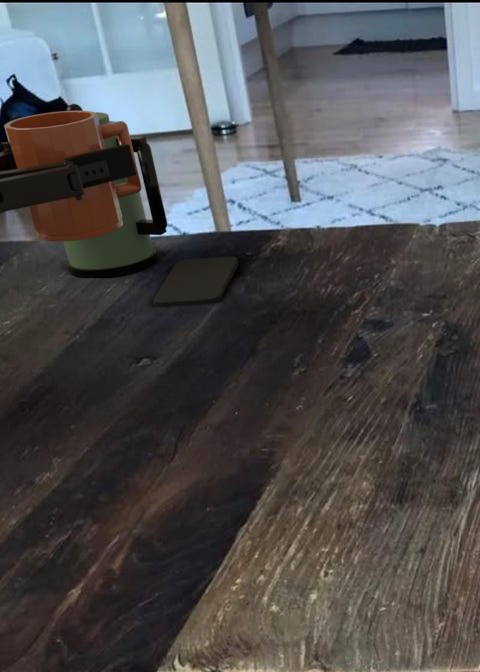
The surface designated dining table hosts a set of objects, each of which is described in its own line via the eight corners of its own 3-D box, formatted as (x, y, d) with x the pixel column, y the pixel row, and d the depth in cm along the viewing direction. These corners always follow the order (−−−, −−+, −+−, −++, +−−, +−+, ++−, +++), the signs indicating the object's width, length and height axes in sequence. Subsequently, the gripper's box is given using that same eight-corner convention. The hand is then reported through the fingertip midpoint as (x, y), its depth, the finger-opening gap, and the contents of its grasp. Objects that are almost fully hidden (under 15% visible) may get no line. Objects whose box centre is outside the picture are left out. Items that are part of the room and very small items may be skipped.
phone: (149, 303, 120) (176, 260, 132) (151, 311, 120) (178, 267, 132) (218, 298, 119) (239, 255, 131) (220, 306, 120) (240, 262, 132)
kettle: (20, 285, 131) (-30, 120, 120) (87, 250, 141) (45, 95, 131) (138, 289, 127) (96, 119, 116) (197, 253, 137) (164, 93, 126)
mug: (65, 246, 106) (33, 132, 100) (21, 234, 111) (-12, 124, 105) (169, 216, 113) (145, 107, 107) (123, 205, 118) (98, 101, 112)
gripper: (-153, 237, 106) (60, 183, 118) (-48, 272, 93) (176, 208, 106) (-186, 151, 101) (38, 105, 114) (-81, 177, 89) (157, 121, 102)
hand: (104, 154), depth 110 cm, fingers closed on mug, 8 cm apart
